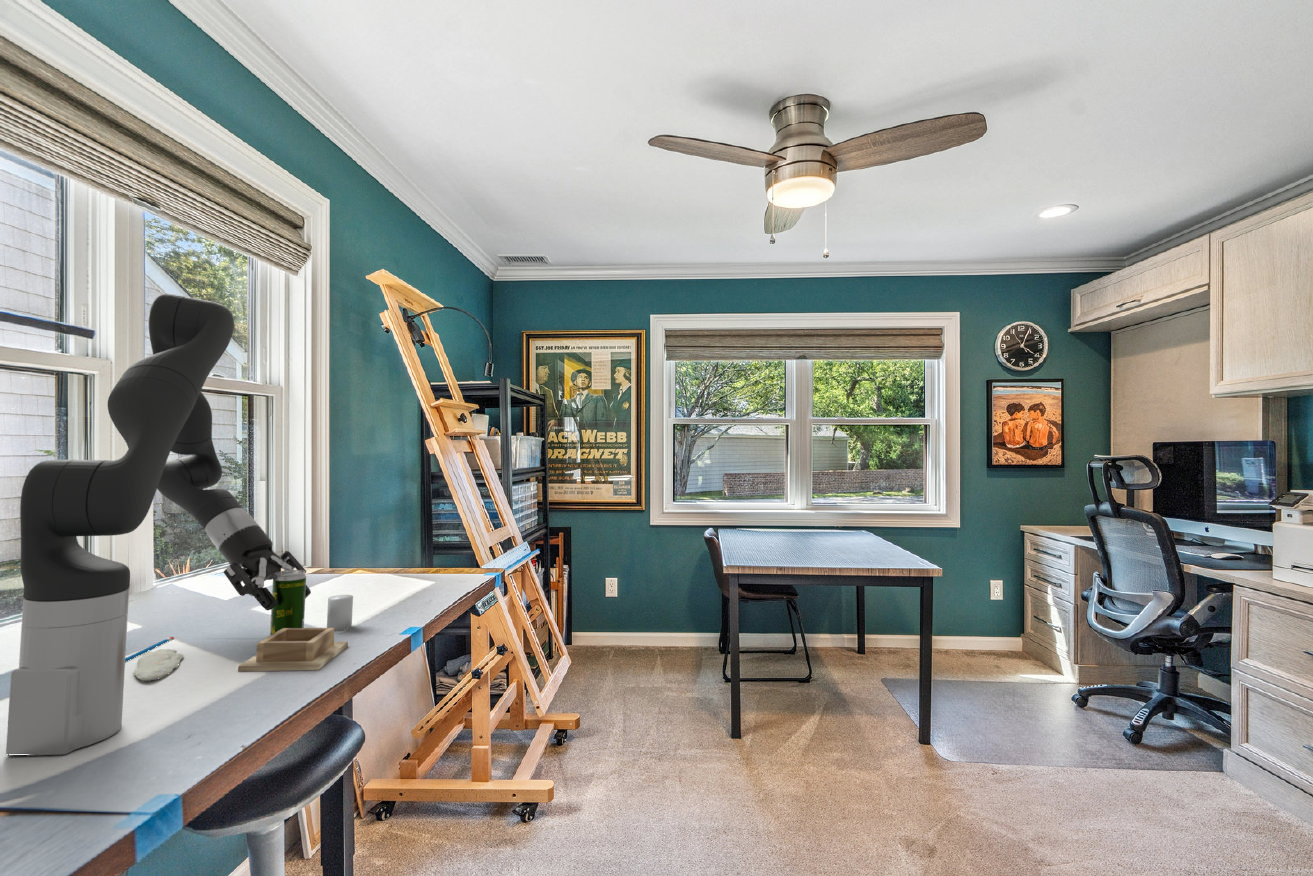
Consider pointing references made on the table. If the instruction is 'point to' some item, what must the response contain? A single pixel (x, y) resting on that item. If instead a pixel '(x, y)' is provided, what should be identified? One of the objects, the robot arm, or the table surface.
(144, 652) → the pencil
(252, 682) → the table surface
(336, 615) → the short post
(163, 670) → the stone tool
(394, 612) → the table surface
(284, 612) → the beer can
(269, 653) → the socket
